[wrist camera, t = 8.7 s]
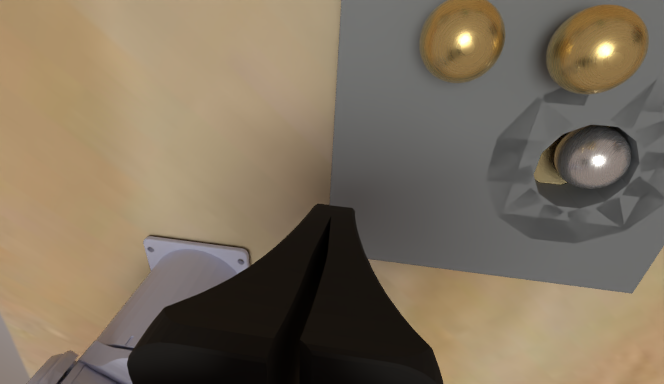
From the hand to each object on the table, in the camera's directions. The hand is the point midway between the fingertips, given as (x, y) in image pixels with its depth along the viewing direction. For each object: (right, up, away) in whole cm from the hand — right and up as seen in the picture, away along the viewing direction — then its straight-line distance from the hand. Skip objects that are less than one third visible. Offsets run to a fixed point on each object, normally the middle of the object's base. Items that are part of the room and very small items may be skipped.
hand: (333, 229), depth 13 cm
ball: (+13, +3, +6) cm, 15 cm away
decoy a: (+5, +7, +2) cm, 9 cm away
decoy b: (+10, +7, +1) cm, 12 cm away
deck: (+9, +4, +8) cm, 13 cm away
